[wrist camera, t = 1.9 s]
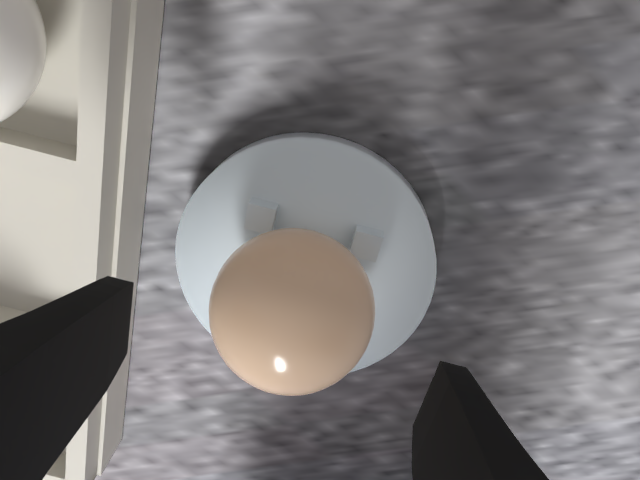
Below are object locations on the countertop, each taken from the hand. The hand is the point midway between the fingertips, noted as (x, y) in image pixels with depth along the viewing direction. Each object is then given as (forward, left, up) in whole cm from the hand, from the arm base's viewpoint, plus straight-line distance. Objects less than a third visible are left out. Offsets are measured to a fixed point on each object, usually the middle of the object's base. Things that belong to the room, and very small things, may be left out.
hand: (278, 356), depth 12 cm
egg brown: (0, 0, -4) cm, 4 cm away
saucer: (0, 0, -6) cm, 6 cm away
